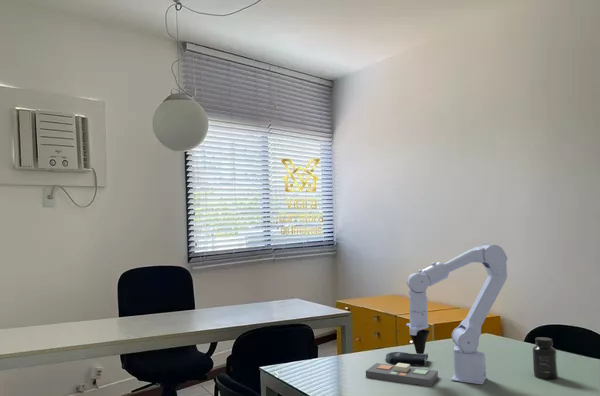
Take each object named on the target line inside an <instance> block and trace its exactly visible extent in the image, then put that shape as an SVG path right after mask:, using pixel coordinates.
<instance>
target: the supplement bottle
mask: <svg viewBox="0 0 600 396" xmlns="http://www.w3.org/2000/svg"><path fill="white" fill-rule="evenodd" d="M553 345H554V343H553V338H549V337H542V336H540V337H535V346H533V348H532V363H533V365H532V367H533V375H534V377H535V378H537V379H541V380H546V381H554V380H557V379H558V376H559V372H558V371H559V370H558V356H557V355H558V353H557V350H556V348H554V347H553Z"/></svg>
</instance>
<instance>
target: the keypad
mask: <svg viewBox="0 0 600 396" xmlns="http://www.w3.org/2000/svg"><path fill="white" fill-rule="evenodd" d="M381 364H382V365H389V366H393V368H392V369H391V370H382V369H377V367H379V366H380V365H381ZM395 365H396V364H387V363H380V362H376V363H374V364H373V365H372V366H370V367H369V368H367V369H366V370H365V378H369V379H376V380H383V381H391V382H396V383H397V382H398V383H404V384H411V385H416V384H418V386H423V385H424V386H423V387H431V386H432V385H433V384H434V382H435V381H437V379H438V378H439V371H438V370H434V369H426V368H417V367H411V366H410V370H409V371H408V372H407V373H406V372H399V371H395V368H394V366H395ZM416 369H420V370H428V372H429V373H428V374H427V375H419V374H413V372H414V371H415V370H416Z"/></svg>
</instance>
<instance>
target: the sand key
mask: <svg viewBox="0 0 600 396" xmlns="http://www.w3.org/2000/svg"><path fill="white" fill-rule="evenodd" d="M394 365H395V366H394V368H395V371H399V372H406V373H407V372H408V371H409V370H410V367H411V365H410V364H404V363H397V364H394Z"/></svg>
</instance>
